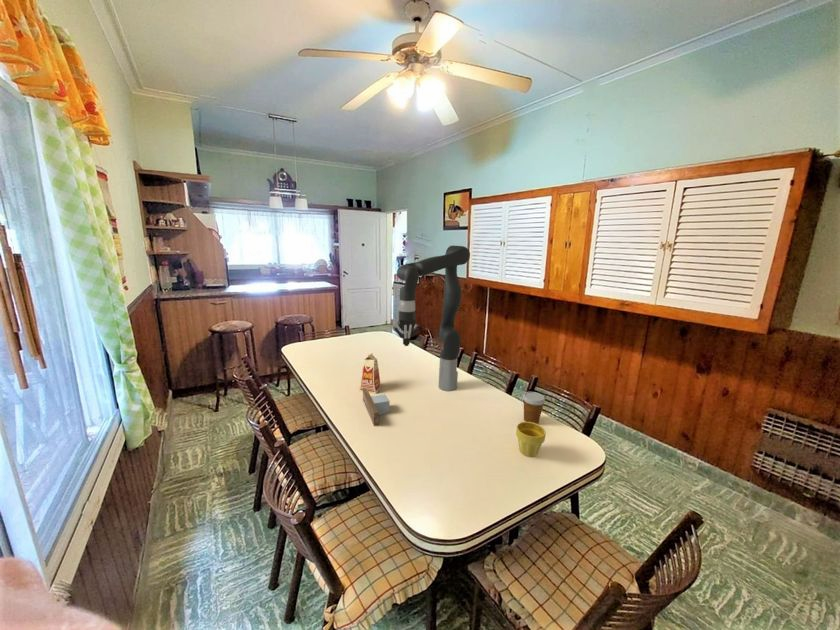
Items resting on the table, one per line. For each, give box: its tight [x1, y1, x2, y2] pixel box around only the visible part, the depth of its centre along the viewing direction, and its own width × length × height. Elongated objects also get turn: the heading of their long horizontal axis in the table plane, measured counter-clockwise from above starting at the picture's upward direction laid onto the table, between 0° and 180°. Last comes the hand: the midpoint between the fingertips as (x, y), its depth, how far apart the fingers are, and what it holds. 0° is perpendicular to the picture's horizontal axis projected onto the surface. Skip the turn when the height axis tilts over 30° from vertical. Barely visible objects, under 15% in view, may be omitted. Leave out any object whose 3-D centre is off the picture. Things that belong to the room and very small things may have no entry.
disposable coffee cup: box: [522, 391, 546, 425], centre depth 144 cm, size 10×10×12 cm
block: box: [370, 393, 390, 416], centre depth 150 cm, size 7×7×6 cm
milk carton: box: [358, 352, 381, 395], centre depth 169 cm, size 9×9×20 cm
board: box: [362, 388, 379, 427], centre depth 148 cm, size 2×24×6 cm, turn 21°
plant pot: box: [515, 421, 547, 458], centre depth 123 cm, size 10×10×10 cm
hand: (406, 345), depth 152 cm, fingers closed
